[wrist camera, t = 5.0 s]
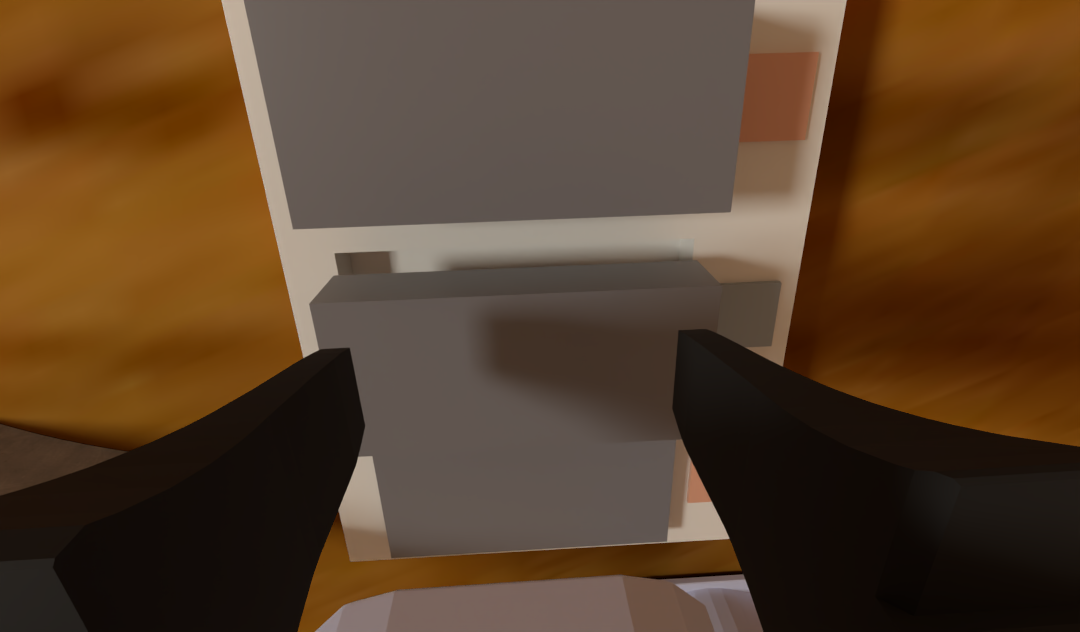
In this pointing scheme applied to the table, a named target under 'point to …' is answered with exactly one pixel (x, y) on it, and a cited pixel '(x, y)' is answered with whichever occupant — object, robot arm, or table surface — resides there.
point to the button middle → (515, 352)
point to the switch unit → (604, 233)
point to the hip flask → (42, 458)
